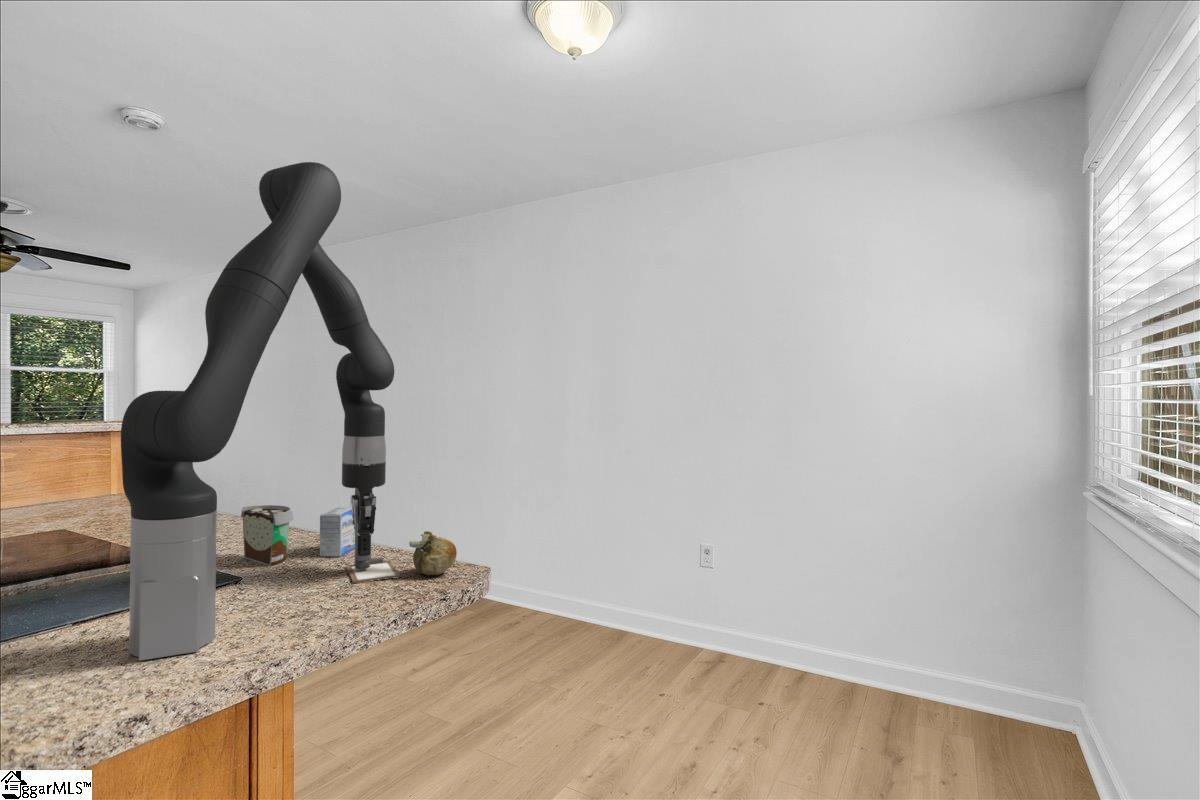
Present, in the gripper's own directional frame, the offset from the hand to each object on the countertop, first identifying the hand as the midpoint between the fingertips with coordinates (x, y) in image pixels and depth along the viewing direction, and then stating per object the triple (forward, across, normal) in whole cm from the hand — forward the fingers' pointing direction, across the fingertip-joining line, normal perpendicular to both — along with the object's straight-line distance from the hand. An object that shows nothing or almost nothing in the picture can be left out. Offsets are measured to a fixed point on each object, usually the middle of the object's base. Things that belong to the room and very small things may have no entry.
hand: (362, 552), depth 111 cm
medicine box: (+4, -17, -2) cm, 17 cm away
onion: (+4, +6, +12) cm, 14 cm away
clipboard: (+4, +1, +2) cm, 4 cm away
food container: (+4, -16, -14) cm, 22 cm away
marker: (+3, 0, 0) cm, 3 cm away
